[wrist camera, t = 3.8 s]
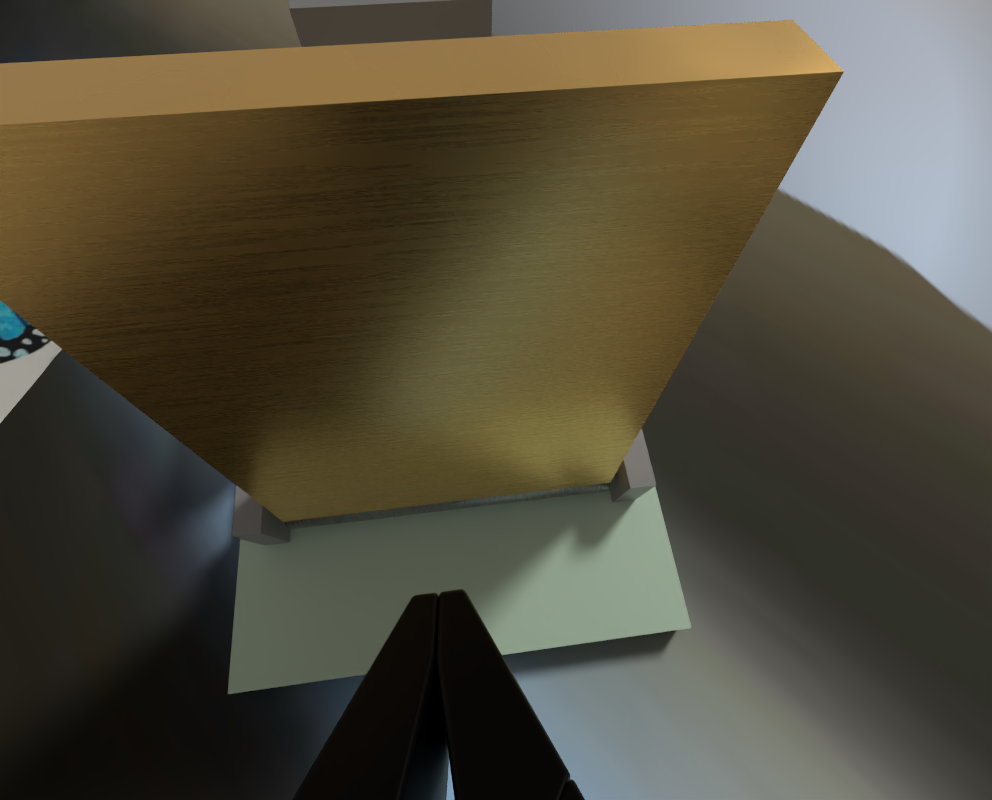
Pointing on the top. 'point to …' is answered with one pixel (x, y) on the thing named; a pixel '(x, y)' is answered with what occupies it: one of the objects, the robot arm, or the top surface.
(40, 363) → the decorative butterfly
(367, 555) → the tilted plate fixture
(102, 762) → the top surface
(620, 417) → the gold rectangular plate
